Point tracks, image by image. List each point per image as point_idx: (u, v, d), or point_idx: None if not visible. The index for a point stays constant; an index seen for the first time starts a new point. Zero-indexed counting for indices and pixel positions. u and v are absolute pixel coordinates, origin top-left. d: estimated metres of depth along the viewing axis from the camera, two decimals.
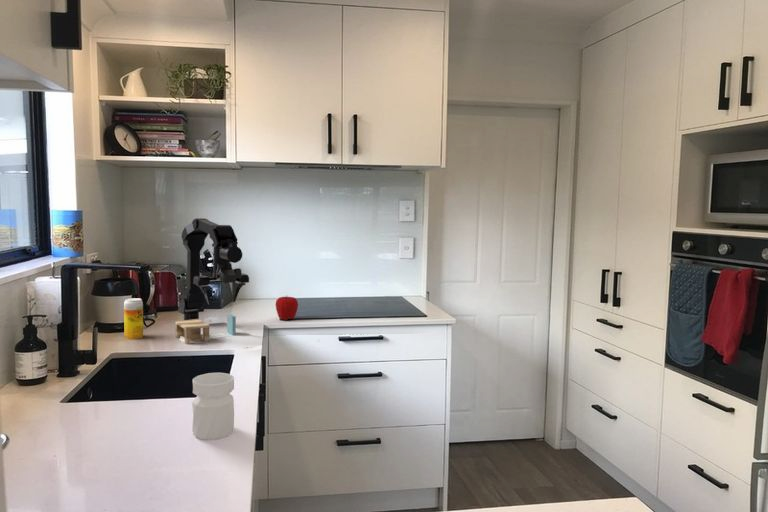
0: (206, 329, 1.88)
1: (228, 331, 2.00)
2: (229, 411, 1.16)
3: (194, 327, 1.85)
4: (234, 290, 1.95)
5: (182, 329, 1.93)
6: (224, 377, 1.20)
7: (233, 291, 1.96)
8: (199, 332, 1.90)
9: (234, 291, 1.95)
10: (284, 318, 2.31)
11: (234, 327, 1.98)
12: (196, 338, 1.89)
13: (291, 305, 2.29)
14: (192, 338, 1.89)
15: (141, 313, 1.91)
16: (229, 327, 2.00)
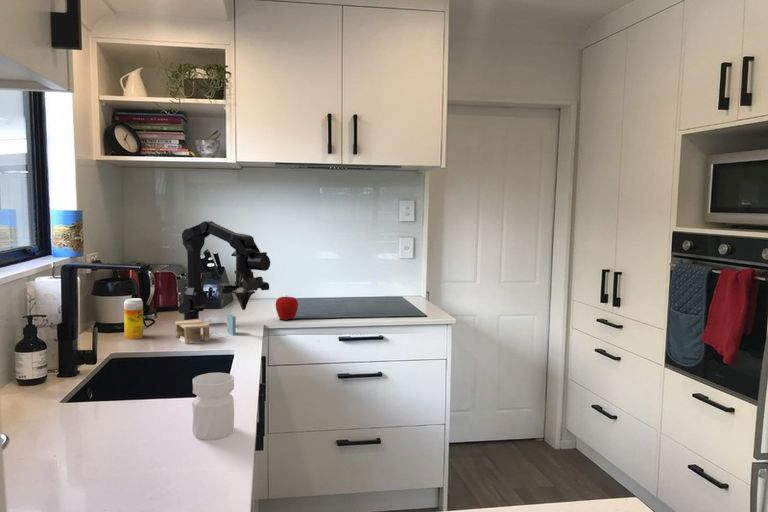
0: (206, 329, 1.88)
1: (228, 331, 2.00)
2: (229, 411, 1.16)
3: (194, 327, 1.85)
4: (244, 298, 2.02)
5: (182, 329, 1.93)
6: (224, 377, 1.20)
7: None
8: (199, 332, 1.90)
9: (244, 299, 2.02)
10: (284, 318, 2.31)
11: (234, 327, 1.98)
12: (196, 338, 1.89)
13: (291, 305, 2.29)
14: (192, 338, 1.89)
15: (141, 313, 1.91)
16: (229, 327, 2.00)
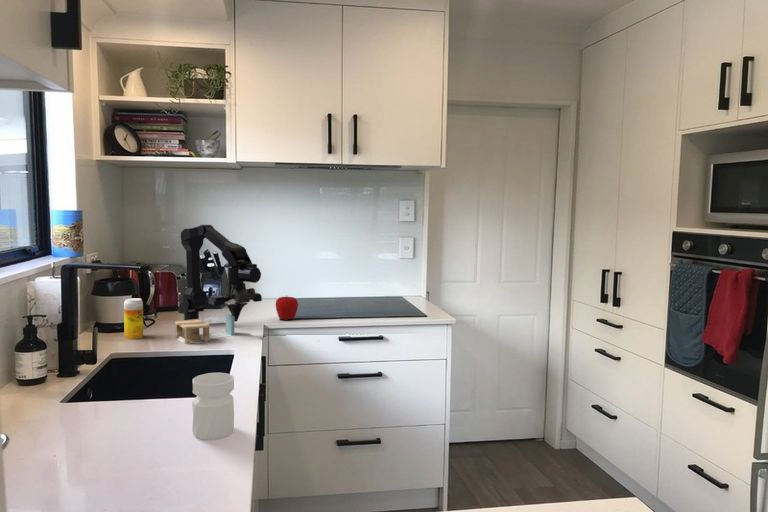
0: (206, 329, 1.88)
1: (227, 331, 2.00)
2: (229, 411, 1.16)
3: (194, 327, 1.85)
4: (236, 310, 2.00)
5: None
6: (224, 377, 1.20)
7: None
8: (198, 333, 1.90)
9: (236, 311, 2.00)
10: (284, 318, 2.31)
11: (233, 327, 1.98)
12: (195, 338, 1.89)
13: (291, 305, 2.29)
14: (191, 338, 1.88)
15: (141, 313, 1.91)
16: (228, 327, 1.99)
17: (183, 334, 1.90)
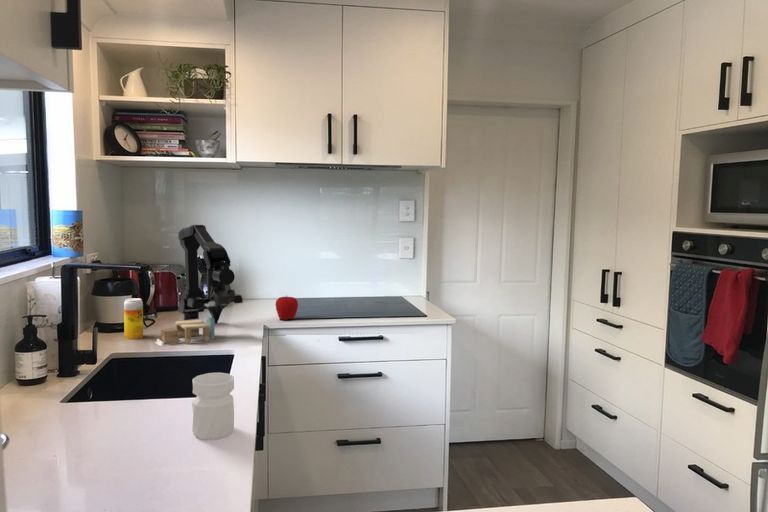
0: (206, 329, 1.88)
1: None
2: (229, 411, 1.16)
3: (194, 327, 1.85)
4: (216, 312, 1.96)
5: (182, 329, 1.93)
6: (224, 377, 1.20)
7: None
8: (176, 335, 1.85)
9: (216, 313, 1.96)
10: (284, 318, 2.31)
11: (213, 330, 1.93)
12: (173, 341, 1.84)
13: (291, 305, 2.29)
14: (169, 341, 1.84)
15: (141, 313, 1.91)
16: None
17: (161, 337, 1.85)
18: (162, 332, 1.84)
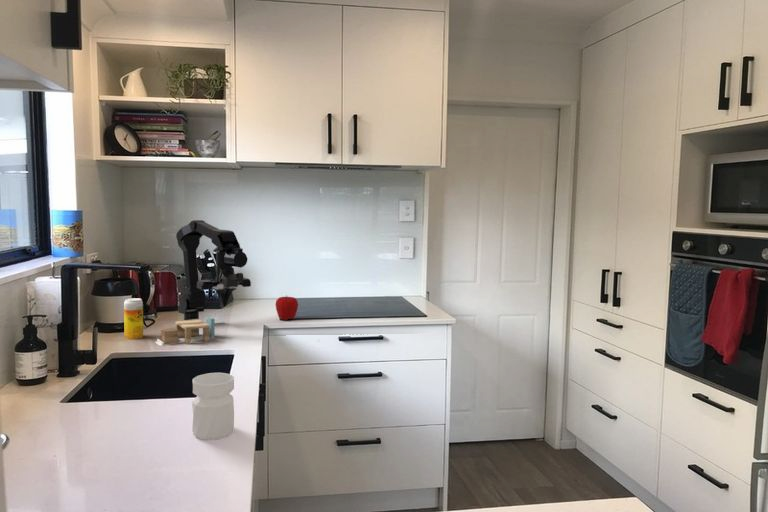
0: (206, 329, 1.88)
1: None
2: (229, 411, 1.16)
3: (194, 327, 1.85)
4: (225, 295, 1.99)
5: (182, 329, 1.93)
6: (224, 377, 1.20)
7: None
8: (176, 335, 1.85)
9: (225, 296, 1.98)
10: (284, 318, 2.31)
11: (213, 330, 1.93)
12: (173, 341, 1.84)
13: (291, 305, 2.29)
14: (169, 341, 1.84)
15: (141, 313, 1.91)
16: None
17: (161, 337, 1.85)
18: (162, 332, 1.84)
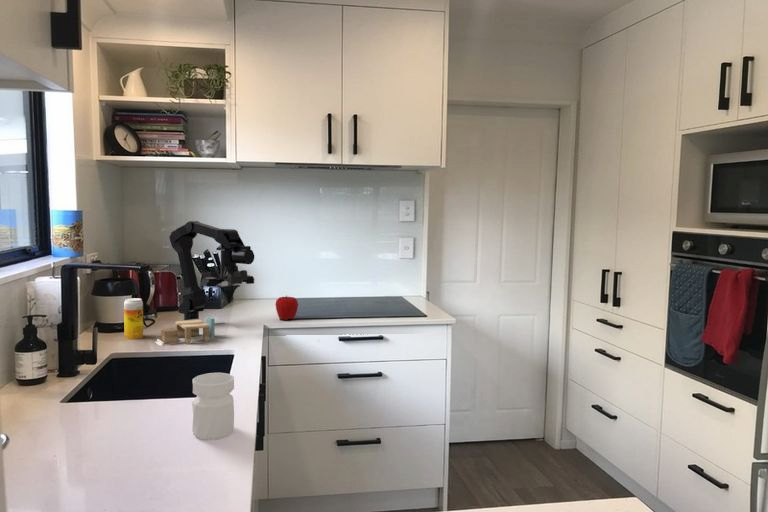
0: (206, 329, 1.88)
1: None
2: (229, 411, 1.16)
3: (194, 327, 1.85)
4: (229, 292, 2.04)
5: (182, 329, 1.93)
6: (224, 377, 1.20)
7: None
8: (176, 335, 1.85)
9: (229, 293, 2.04)
10: (284, 318, 2.31)
11: (213, 330, 1.93)
12: (173, 341, 1.84)
13: (291, 305, 2.29)
14: (169, 341, 1.84)
15: (141, 313, 1.91)
16: None
17: (161, 337, 1.85)
18: (162, 332, 1.84)
